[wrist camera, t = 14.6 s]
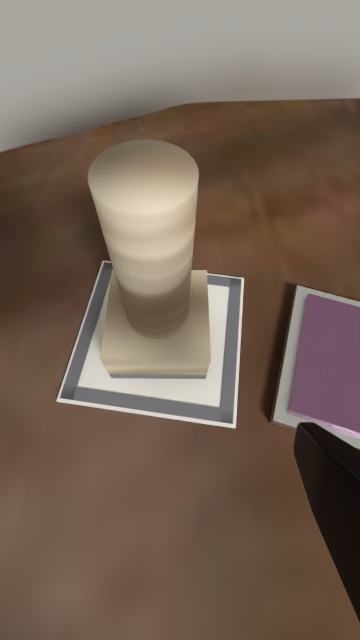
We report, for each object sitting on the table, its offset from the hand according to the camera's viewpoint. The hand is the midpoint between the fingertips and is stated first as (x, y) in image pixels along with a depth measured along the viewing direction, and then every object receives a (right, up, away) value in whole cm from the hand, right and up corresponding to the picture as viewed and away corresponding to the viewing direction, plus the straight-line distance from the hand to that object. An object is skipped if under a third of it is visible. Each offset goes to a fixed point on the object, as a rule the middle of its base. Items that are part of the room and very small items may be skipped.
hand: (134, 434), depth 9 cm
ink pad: (+13, 0, +12) cm, 18 cm away
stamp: (0, +2, +13) cm, 13 cm away
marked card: (0, +2, +13) cm, 13 cm away
